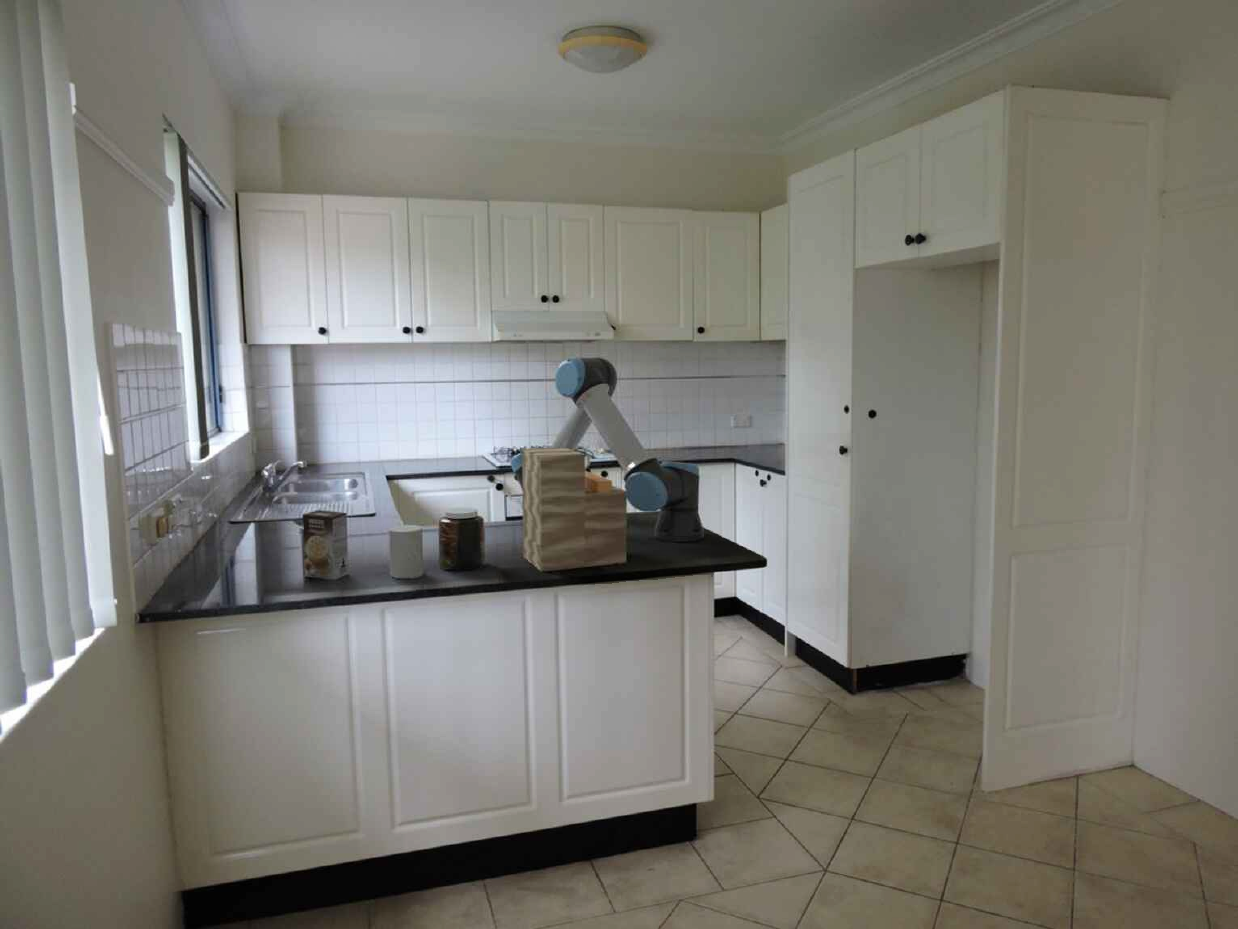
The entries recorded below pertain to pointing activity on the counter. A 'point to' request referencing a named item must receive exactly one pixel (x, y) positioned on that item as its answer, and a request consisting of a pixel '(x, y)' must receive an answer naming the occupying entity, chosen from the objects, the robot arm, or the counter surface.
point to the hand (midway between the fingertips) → (567, 460)
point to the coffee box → (325, 544)
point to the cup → (406, 551)
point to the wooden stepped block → (569, 513)
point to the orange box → (597, 483)
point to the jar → (461, 540)
